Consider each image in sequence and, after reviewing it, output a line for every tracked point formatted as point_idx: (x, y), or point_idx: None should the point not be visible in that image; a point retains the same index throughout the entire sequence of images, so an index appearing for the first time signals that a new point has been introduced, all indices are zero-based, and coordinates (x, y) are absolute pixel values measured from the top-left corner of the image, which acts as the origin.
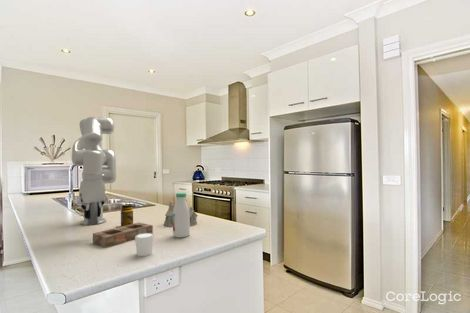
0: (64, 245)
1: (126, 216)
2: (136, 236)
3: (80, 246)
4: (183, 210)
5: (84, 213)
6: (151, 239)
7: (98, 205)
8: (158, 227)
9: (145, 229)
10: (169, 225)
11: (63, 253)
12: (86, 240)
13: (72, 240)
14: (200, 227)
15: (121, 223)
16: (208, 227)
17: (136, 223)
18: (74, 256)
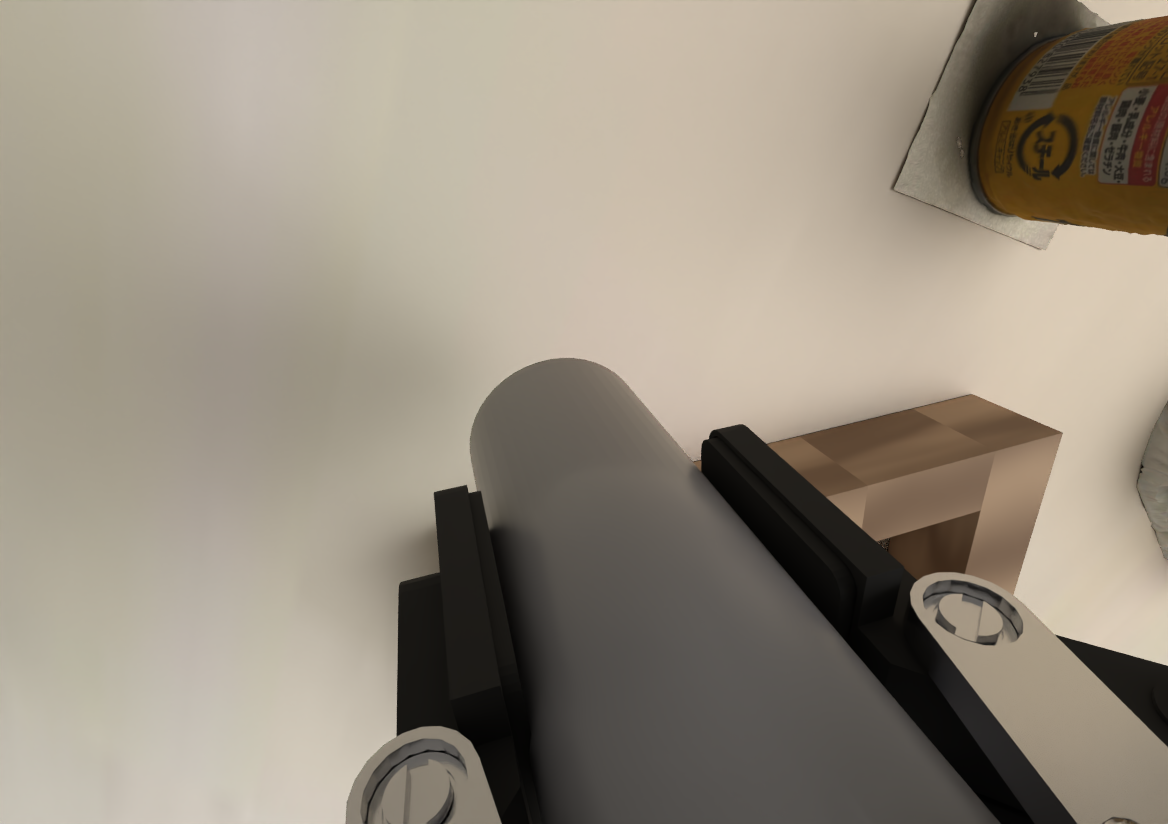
0: (106, 400)
1: None
2: None
3: (303, 567)
4: None
5: (402, 664)
6: None
7: (948, 741)
8: (1099, 432)
9: None
10: (1152, 479)
11: (93, 692)
12: (422, 374)
13: (245, 211)
14: (1151, 633)
15: (1041, 126)
16: (1158, 660)
17: (1016, 464)
18: (201, 805)
